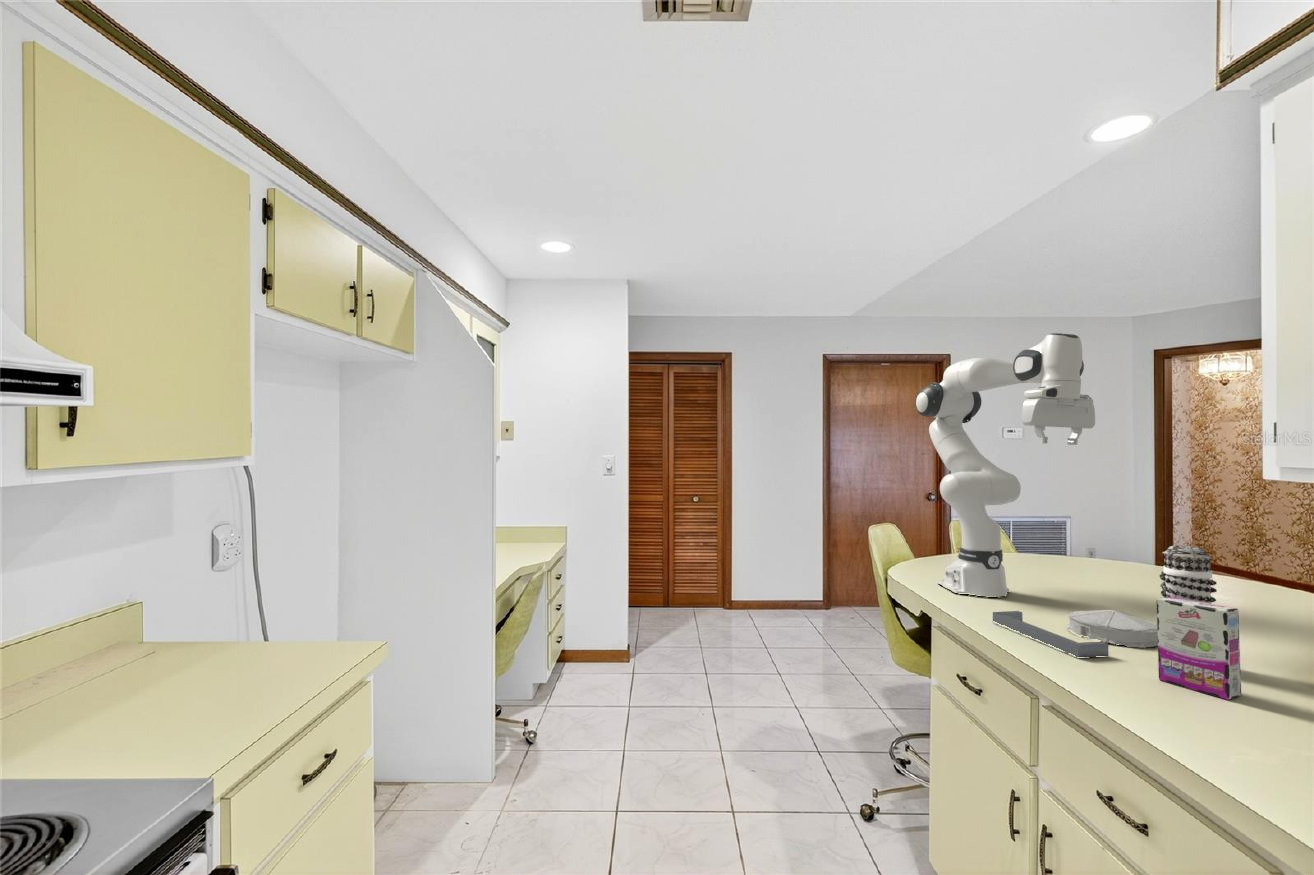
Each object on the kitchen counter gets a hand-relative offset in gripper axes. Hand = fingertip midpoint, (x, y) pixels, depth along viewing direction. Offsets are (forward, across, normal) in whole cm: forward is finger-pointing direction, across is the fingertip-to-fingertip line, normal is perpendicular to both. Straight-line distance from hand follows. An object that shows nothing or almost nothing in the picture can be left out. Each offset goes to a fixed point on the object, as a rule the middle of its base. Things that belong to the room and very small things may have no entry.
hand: (1057, 444), depth 160 cm
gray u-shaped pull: (+48, +14, +14) cm, 51 cm away
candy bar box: (+46, +10, +45) cm, 66 cm away
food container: (+47, -4, +15) cm, 50 cm away
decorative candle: (+46, -1, +35) cm, 58 cm away
